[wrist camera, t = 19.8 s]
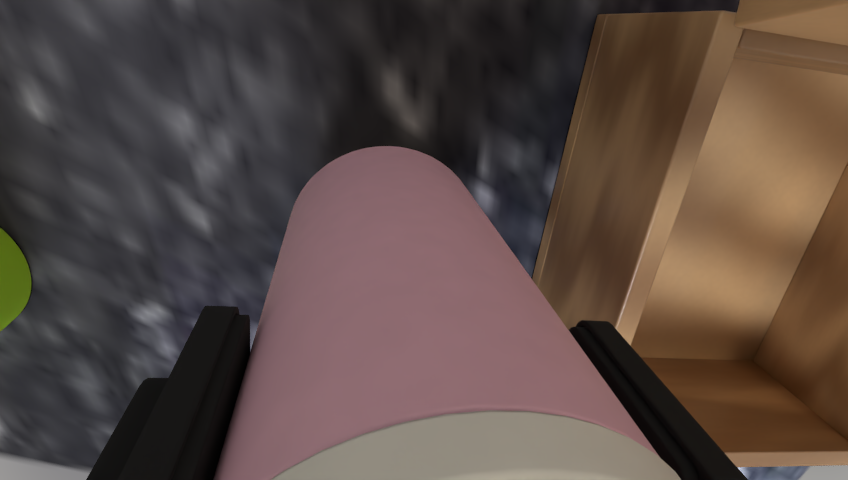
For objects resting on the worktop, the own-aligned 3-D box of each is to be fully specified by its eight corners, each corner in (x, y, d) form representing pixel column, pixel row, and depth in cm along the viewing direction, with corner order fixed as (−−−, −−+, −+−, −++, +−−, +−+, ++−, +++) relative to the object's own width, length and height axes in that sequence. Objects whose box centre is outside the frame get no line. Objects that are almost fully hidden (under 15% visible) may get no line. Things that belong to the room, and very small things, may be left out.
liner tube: (514, 194, 16) (861, 554, 5) (425, 342, 18) (545, 832, 7) (335, 107, 14) (296, 386, 3) (257, 283, 16) (69, 829, 5)
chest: (748, 363, 27) (868, 465, 21) (512, 357, 24) (567, 470, 18) (892, 62, 21) (1121, 79, 15) (596, 14, 18) (722, 9, 12)
